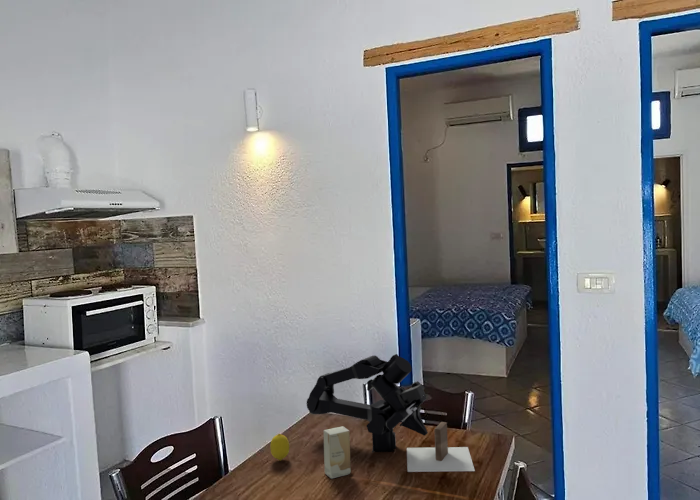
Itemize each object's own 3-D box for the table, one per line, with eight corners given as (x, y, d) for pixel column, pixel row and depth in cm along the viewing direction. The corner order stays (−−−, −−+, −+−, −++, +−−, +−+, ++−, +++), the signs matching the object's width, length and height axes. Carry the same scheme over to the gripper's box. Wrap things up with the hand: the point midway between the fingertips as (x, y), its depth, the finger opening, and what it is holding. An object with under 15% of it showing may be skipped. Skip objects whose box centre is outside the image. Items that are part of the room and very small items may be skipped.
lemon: (293, 457, 169) (292, 431, 168) (283, 465, 164) (282, 438, 163) (277, 455, 171) (276, 429, 171) (267, 463, 166) (265, 436, 166)
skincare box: (331, 479, 153) (328, 435, 153) (324, 473, 157) (322, 430, 157) (352, 473, 156) (350, 429, 156) (345, 467, 160) (342, 425, 160)
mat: (407, 473, 155) (407, 471, 155) (406, 449, 170) (406, 447, 170) (475, 473, 153) (474, 470, 153) (467, 449, 169) (467, 447, 169)
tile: (435, 460, 161) (434, 428, 160) (442, 451, 166) (440, 421, 166) (441, 461, 160) (440, 429, 160) (448, 452, 165) (446, 422, 165)
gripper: (394, 384, 158) (433, 429, 153) (419, 367, 174) (455, 407, 170) (369, 408, 162) (407, 453, 157) (396, 389, 178) (430, 429, 174)
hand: (426, 434), depth 165 cm, fingers closed
